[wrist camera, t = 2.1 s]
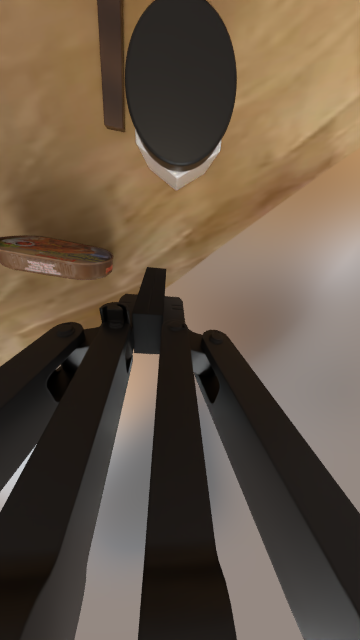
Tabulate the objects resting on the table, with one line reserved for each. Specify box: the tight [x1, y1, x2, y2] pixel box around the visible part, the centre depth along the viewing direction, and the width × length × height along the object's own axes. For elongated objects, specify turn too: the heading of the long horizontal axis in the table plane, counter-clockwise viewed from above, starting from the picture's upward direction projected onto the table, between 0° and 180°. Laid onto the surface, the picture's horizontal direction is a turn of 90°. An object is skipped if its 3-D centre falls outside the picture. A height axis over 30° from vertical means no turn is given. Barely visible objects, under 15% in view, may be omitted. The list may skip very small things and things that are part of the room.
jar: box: [125, 0, 237, 190], centre depth 17 cm, size 9×8×12 cm
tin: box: [0, 236, 113, 280], centre depth 25 cm, size 15×3×8 cm, turn 79°
